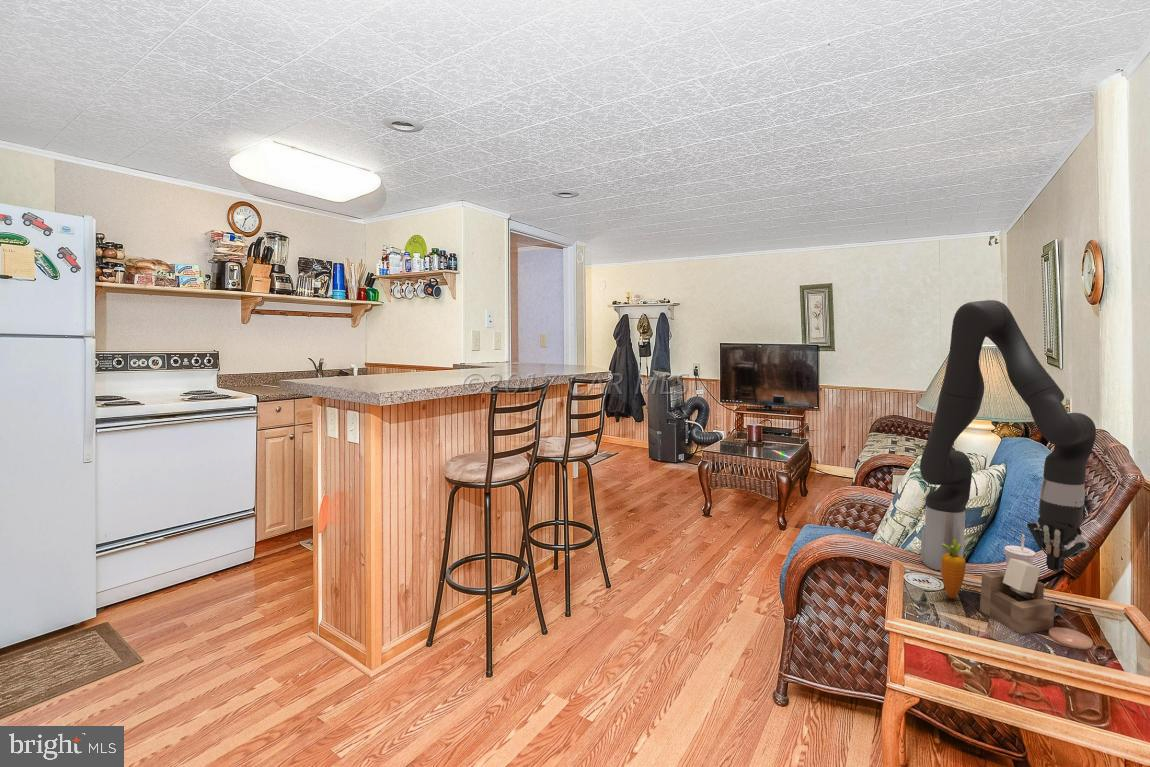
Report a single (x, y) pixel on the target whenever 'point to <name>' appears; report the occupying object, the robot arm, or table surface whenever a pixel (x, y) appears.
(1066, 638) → the terracotta dish
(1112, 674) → the table surface
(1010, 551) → the smoothie
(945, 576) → the carrot
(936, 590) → the table surface
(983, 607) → the box
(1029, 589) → the cream block
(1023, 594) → the dark grey long block
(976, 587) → the table surface
